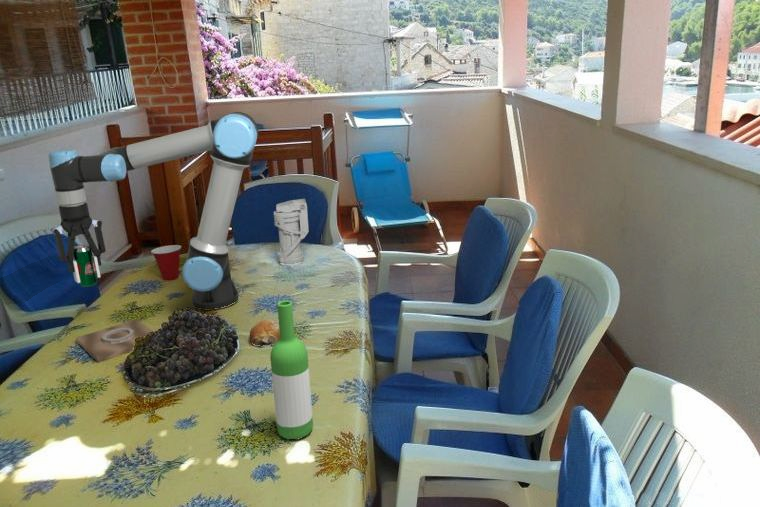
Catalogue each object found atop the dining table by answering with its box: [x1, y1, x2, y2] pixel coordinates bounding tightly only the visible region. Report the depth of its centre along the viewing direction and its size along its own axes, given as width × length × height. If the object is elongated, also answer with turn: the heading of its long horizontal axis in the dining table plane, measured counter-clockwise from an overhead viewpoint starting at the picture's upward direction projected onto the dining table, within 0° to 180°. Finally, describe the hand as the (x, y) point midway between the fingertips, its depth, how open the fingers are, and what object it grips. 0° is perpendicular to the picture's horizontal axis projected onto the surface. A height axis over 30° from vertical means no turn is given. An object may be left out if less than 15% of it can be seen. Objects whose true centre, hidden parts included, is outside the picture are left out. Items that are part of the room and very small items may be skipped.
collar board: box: [75, 319, 154, 363], centre depth 175 cm, size 18×18×2 cm
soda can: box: [73, 244, 98, 288], centre depth 179 cm, size 5×5×12 cm
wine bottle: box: [269, 300, 314, 440], centre depth 125 cm, size 8×8×30 cm
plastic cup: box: [150, 244, 182, 281], centre depth 225 cm, size 11×11×12 cm
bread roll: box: [249, 318, 280, 346], centre depth 173 cm, size 10×10×8 cm
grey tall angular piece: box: [273, 198, 309, 264], centre depth 237 cm, size 13×10×25 cm
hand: (87, 278), depth 181 cm, fingers closed on soda can, 5 cm apart
